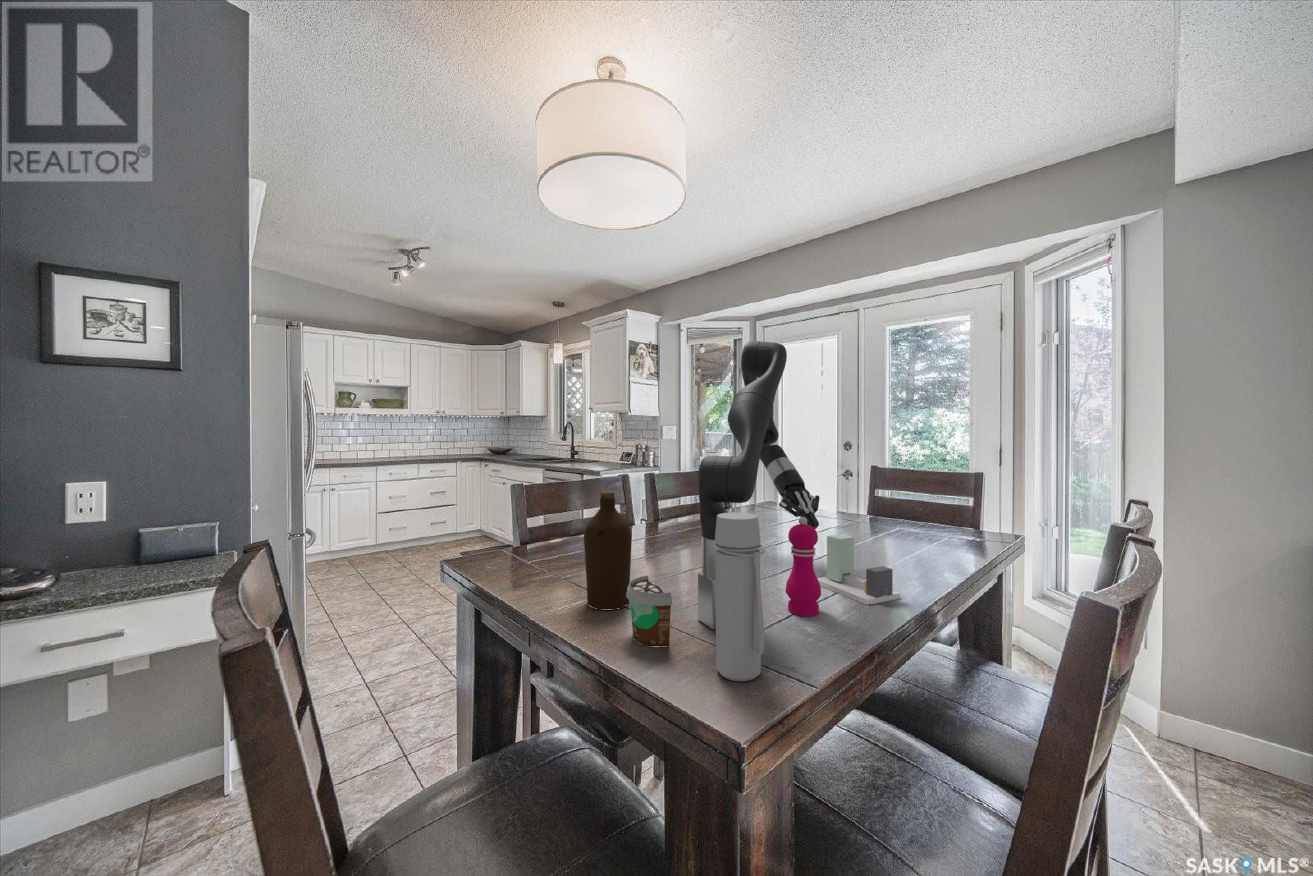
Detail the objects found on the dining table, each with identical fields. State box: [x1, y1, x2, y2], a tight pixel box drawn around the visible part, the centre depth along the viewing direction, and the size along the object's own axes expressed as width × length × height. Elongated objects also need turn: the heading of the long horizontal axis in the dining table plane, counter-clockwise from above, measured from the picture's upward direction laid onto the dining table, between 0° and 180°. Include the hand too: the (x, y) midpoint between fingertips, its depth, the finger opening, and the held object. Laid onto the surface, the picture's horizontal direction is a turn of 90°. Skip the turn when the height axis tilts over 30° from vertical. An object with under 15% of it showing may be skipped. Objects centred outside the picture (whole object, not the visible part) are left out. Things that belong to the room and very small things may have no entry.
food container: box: [626, 575, 673, 648], centre depth 92 cm, size 12×6×10 cm, turn 22°
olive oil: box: [583, 490, 633, 610], centre depth 111 cm, size 11×11×25 cm
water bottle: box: [714, 511, 767, 682], centre depth 78 cm, size 9×8×25 cm
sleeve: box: [826, 533, 855, 582], centre depth 123 cm, size 5×4×10 cm
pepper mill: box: [785, 517, 822, 617], centre depth 105 cm, size 7×7×20 cm
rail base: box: [817, 565, 902, 606], centre depth 119 cm, size 10×17×7 cm, turn 23°
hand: (815, 527), depth 131 cm, fingers closed
